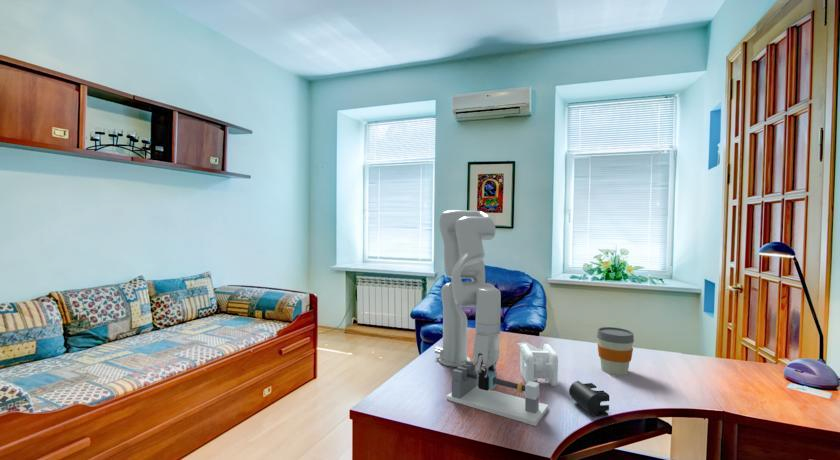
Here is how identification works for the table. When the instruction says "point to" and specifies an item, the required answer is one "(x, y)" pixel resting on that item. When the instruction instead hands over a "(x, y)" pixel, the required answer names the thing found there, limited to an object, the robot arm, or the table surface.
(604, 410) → the end cap
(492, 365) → the robot arm
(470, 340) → the table surface
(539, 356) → the cable organizer
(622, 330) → the reusable coffee cup
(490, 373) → the sleeve
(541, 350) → the pale grey flat piece
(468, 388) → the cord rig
